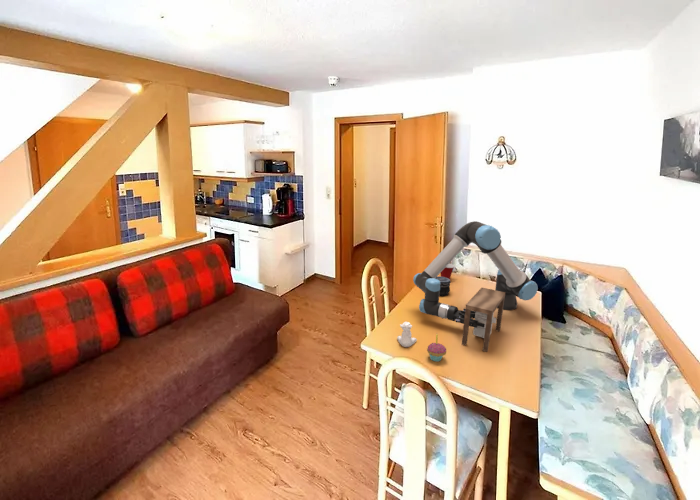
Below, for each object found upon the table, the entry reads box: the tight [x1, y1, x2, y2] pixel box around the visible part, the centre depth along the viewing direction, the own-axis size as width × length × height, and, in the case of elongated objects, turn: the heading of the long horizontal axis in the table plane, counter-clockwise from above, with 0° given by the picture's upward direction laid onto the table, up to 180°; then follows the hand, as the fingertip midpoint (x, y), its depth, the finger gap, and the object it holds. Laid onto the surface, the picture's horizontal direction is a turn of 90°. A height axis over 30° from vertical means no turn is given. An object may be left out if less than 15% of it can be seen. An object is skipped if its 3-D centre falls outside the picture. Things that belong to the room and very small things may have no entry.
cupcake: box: [426, 333, 447, 362], centre depth 170 cm, size 9×8×12 cm
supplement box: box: [472, 311, 495, 339], centre depth 190 cm, size 7×7×13 cm
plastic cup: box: [439, 262, 456, 280], centre depth 271 cm, size 11×11×12 cm
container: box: [435, 275, 452, 297], centre depth 247 cm, size 13×13×10 cm
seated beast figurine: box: [396, 321, 418, 348], centre depth 182 cm, size 10×9×12 cm
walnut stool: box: [461, 287, 505, 353], centre depth 189 cm, size 12×28×21 cm, turn 147°
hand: (493, 323), depth 187 cm, fingers closed on supplement box, 7 cm apart
